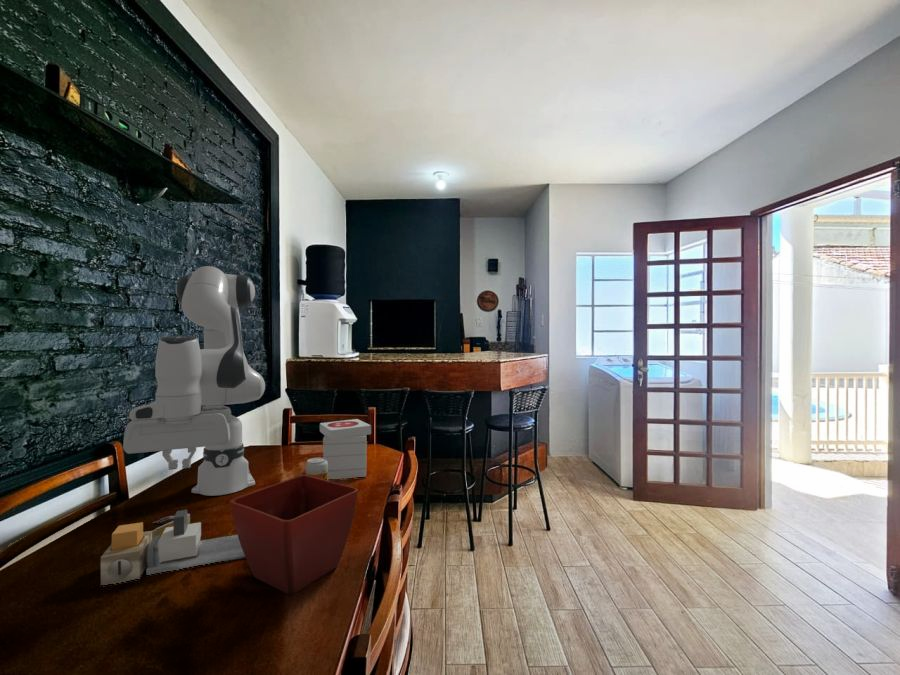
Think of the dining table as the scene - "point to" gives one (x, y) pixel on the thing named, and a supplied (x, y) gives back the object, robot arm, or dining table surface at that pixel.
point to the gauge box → (125, 562)
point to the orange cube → (127, 536)
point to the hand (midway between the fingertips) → (179, 468)
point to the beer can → (317, 468)
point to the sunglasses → (165, 526)
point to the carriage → (179, 539)
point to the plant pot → (294, 530)
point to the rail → (207, 554)
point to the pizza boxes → (345, 448)
